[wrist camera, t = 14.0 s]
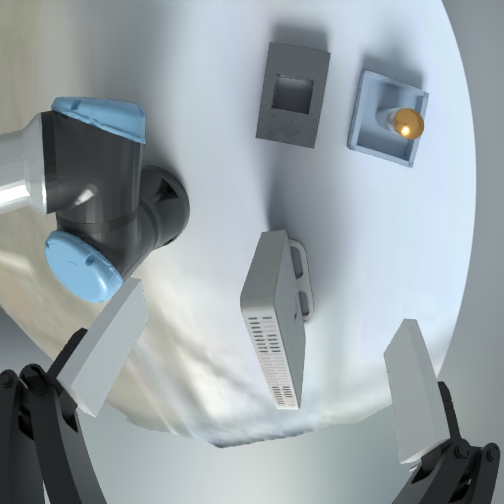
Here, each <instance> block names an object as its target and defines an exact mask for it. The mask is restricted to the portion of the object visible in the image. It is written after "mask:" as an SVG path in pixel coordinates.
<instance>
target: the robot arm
mask: <svg viewBox="0 0 504 504" xmlns="http://www.w3.org/2000/svg"><path fill="white" fill-rule="evenodd" d="M51 109H53V110H51V111H47V112H41V113H37V114H36V115H35V116H34V118H33V119H32V120H31V121H30V122H29V124H28V125H27V126H26V127H25V128H24V129H22V130H18V131H14V132H10V133H6V134H2V135H0V214H2V213H5V212H8V211H11V210H14V209H18V208H21V207H24V206H31V207H33V208H34V209H36V210H37V211H39V212H40V213H41V214H43V215H45V214H49V213H53V212H56V220H57V230H56V231H53V232H51V233H50V235H49V237H48V238H47V240H46V242H45V255H46V258H47V261H48V264H49V266H50V268H51V269H52V271H53V272H54V274H55V275H56V277H57V278H58V279H59V281H60V282H61V283H62V284H63V285H64V286H65V287H66V288H67V289H68V290H70V291H71V292H72V293H74V294H75V295H77V296H78V297H80V298H82V299H84V300H86V301H89V302H94V303H101V302H104V301H107V300H109V299H110V298H111V297H112V296H113V295H114V294H115V295H114V296H113V297H112V299H111V300H110V301H109V303H108V304H107V305H106V307H105V308H104V309H103V311H102V312H101V313H100V315H99V316H98V317H97V319H96V320H95V322H94V323H93V324H92V326H91V327H90V329H89V330H87V329H84V328H81V329H79V330H78V331H77V332H75V333H74V334H73V335H72V337H71V338H70V339H69V341H68V343H67V344H66V345H65V346H64V348H63V350H62V351H61V352H60V354H59V355H58V357H57V358H56V360H55V361H54V363H53V364H52V366H51V367H50V369H49V370H48V372H47V373H45V371H44V370H43V369H42V368H41V366H40V365H37V364H29V365H27V366H25V367H24V368H23V369H22V371H21V372H20V375H19V377H18V376H17V374H16V373H15V372H14V371H13V370H10V369H9V370H5V371H3V372H2V373H1V374H0V504H45V498H44V489H43V481H44V484H45V487H46V491H47V494H48V497H49V501H50V503H51V504H107V503H106V500H105V498H104V496H103V493H102V491H101V488H100V486H99V483H98V481H97V478H96V475H95V473H94V470H93V467H92V464H91V461H90V458H89V455H88V452H87V449H86V445H85V442H84V438H83V435H82V431H81V427H80V423H79V419H78V415H77V412H76V408H77V406H79V407H80V408H81V410H82V411H84V412H86V413H88V414H90V415H92V416H94V417H97V415H98V413H99V411H100V409H101V407H102V405H103V403H104V401H105V399H106V397H107V395H108V393H109V391H110V389H111V388H112V386H113V384H114V382H115V380H116V378H117V376H118V374H119V372H120V370H121V369H122V367H123V365H124V363H125V361H126V359H127V357H128V356H129V354H130V352H131V350H132V348H133V347H134V345H135V343H136V341H137V339H138V338H139V336H140V334H141V332H142V331H143V329H144V327H145V325H146V324H147V322H148V320H149V314H148V310H147V305H146V300H145V296H144V291H143V286H142V280H141V279H137V278H132V277H130V276H131V274H132V273H133V272H134V271H135V270H136V269H137V267H138V266H139V265H140V264H141V263H142V262H143V261H144V259H145V258H146V257H147V256H148V255H149V254H150V253H151V251H152V250H155V249H157V248H160V247H162V246H165V245H168V244H170V243H171V242H173V241H174V240H175V239H176V238H177V237H178V236H179V235H180V234H181V233H182V232H183V230H184V229H185V227H186V225H187V223H188V219H189V202H188V198H187V195H186V193H185V191H184V189H183V187H182V185H181V184H180V183H179V181H178V180H177V179H176V178H175V177H174V176H173V175H172V174H170V173H169V172H167V171H166V170H164V169H161V168H158V167H155V166H143V167H142V162H143V151H144V144H146V139H145V124H146V114H145V111H144V109H143V108H142V107H141V106H140V105H138V104H135V103H131V102H126V101H119V100H111V99H102V98H90V97H57V98H56V99H55V100H54V102H53V104H52V105H51ZM384 359H385V364H386V369H387V374H388V379H389V385H390V390H391V396H392V403H393V409H394V416H395V424H396V431H397V441H398V451H399V463H400V464H402V463H409V462H414V461H416V460H417V459H419V458H421V462H420V463H419V464H417V465H415V466H413V467H412V468H411V469H410V470H409V471H412V470H414V469H415V471H414V472H413V474H412V476H411V477H410V479H409V480H408V482H407V483H406V485H405V486H404V487H403V489H402V490H401V492H400V493H399V494H398V496H397V497H396V499H395V500H394V502H393V503H392V504H491V500H492V496H493V492H494V488H495V483H496V478H497V473H498V467H499V461H500V450H499V447H498V446H497V445H496V444H495V443H489V444H487V445H486V446H484V447H474V446H470V444H469V443H468V442H467V441H466V440H465V439H462V438H461V436H460V432H459V427H458V423H457V419H456V414H455V410H454V409H453V403H452V401H451V400H452V399H451V395H450V392H449V389H448V388H447V386H446V385H445V383H444V382H443V381H442V382H437V380H436V376H435V373H434V369H433V366H432V363H431V360H430V357H429V354H428V351H427V348H426V345H425V342H424V339H423V336H422V333H421V331H420V328H419V325H418V323H417V320H415V319H404V320H403V322H402V323H401V325H400V327H399V329H398V330H397V332H396V334H395V335H394V337H393V339H392V341H391V342H390V344H389V345H388V347H387V349H386V350H385V352H384ZM470 479H471V481H470ZM469 481H470V485H469Z"/></svg>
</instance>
